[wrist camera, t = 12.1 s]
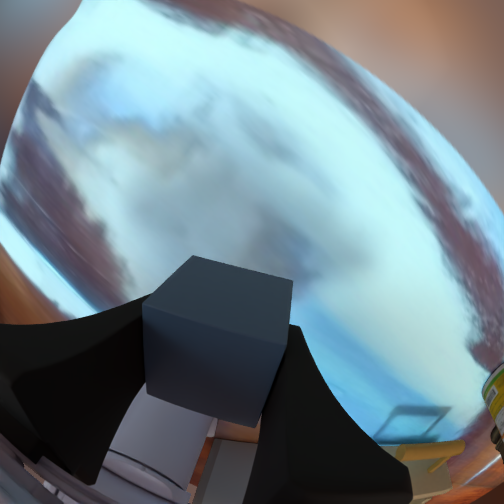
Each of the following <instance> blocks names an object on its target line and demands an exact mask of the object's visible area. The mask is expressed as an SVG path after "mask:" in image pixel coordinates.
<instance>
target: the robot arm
mask: <svg viewBox="0 0 504 504" xmlns="http://www.w3.org/2000/svg"><path fill="white" fill-rule="evenodd" d="M151 294H152V293H151ZM151 294H148V295H146V296H144V297H141V298H139V299H136V300H134V301H131V302H128V303H126V304H123V305H121V306H118V307H115V308H112V309H109V310H106V311H103V312H100V313H97V314H94V315H90V316H86V317H82V318H78V319H73V320H68V321H61V322H54V323H47V324H33V325H12V324H0V504H190V503H188V501H189V498H190V496H191V494H190V493H188V492H186V489H187V486H188V484H189V481H190V479H191V476H192V473H193V471H194V468H195V465H196V463H197V460H198V458H199V455H200V452H201V450H202V447H203V444H204V442H205V439H206V436H208V437H214V435H215V432H216V427H217V423H218V419H217V418H214V417H210V416H207V415H204V414H201V413H197V412H194V411H191V410H188V409H185V408H183V407H180V406H177V405H174V404H171V403H169V402H166V401H163V400H161V399H158V398H156V397H153V396H151V395H148V394H147V392H146V381H145V368H144V350H143V321H142V303H143V302H144V301H145V300H146V299H147V298H148V297H149V296H150V295H151ZM23 463H25V464H26V465H27V466H28V467H29V468H31V469H32V470H33V471H34V472H35V473H37V474H38V475H39V476H40V477H42V478H43V479H44V480H45V481H44V484H43V485H42V484H41V483H40V482H39V481H38V480H37V479H36V478H34V477H33V476H32V475H31V474H30V473H29V472H28V471H26V470H25V469H24V464H23ZM412 500H413V490H412V483H411V477H410V473H409V469H408V467H407V466H406V465H404V464H403V463H401V462H400V461H399V460H397V459H396V458H394V457H393V456H392V455H390V454H389V453H388V452H386V451H385V450H384V449H383V448H381V447H380V446H379V445H378V444H377V443H376V442H375V441H373V440H372V439H371V438H370V437H369V436H368V435H367V434H366V433H365V432H364V431H363V430H362V429H361V428H360V427H359V426H358V425H357V424H356V423H355V421H354V420H353V419H352V418H351V417H350V416H349V415H348V413H347V412H346V411H345V410H344V409H343V407H342V406H341V405H340V403H339V402H338V401H337V399H336V398H335V396H334V395H333V393H332V392H331V390H330V389H329V387H328V386H327V384H326V382H325V380H324V379H323V377H322V375H321V373H320V371H319V369H318V367H317V365H316V363H315V361H314V359H313V357H312V355H311V353H310V350H309V348H308V346H307V343H306V341H305V338H304V336H303V333H302V330H301V328H300V326H296V325H291V324H289V330H288V340H287V346H286V349H285V352H284V355H283V358H282V361H281V363H280V366H279V369H278V372H277V374H276V377H275V380H274V382H273V385H272V388H271V390H270V393H269V395H268V398H267V401H266V403H265V406H264V408H263V411H262V416H261V425H260V434H259V440H258V446H257V450H256V454H255V458H254V462H253V466H252V470H251V474H250V478H249V481H248V485H247V489H246V492H245V496H244V499H243V502H242V504H409V503H410V502H411V501H412Z"/></svg>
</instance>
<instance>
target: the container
mask: <svg viewBox="0 0 504 504" xmlns="http://www.w3.org/2000/svg"><path fill="white" fill-rule="evenodd" d="M491 441H492V442H493V443H494V444H496V447H495V449H496V450H498V451H499V452H500V454H501V456H502V459H503V464H504V442H503V439H502V437H501V435H500V433H499V430H498V428H497V426H496V427H495V428H494V430H493V431H492V434H491Z"/></svg>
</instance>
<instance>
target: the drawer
mask: <svg viewBox="0 0 504 504" xmlns="http://www.w3.org/2000/svg"><path fill="white" fill-rule="evenodd" d="M380 447H381V448H383V449H384V450H385V451H386V452H388V453H389V454H390V455H392V456H393V457H394V458H396V459H397V460H399V461H400V462H401V463H403V464H404V465H406V466H407V467H408V469H409V473H410V477H411V483H412V490H413V500H412V501H411V502H410V503H409V504H424V503H426V502H427V501H429V500H430V499H432V496H436V495H440V494H445V493H447V492H448V491H449V490H451V489H452V483H451V479H450V475H449V471H448V467H447V463H446V461H447V460H448V459H449V458H450V457H452V456H455V455H460V454H461V453H462V452H463V451H464V449H465V442H464V441H463V440H454V441H445V442H433V443H417V444H401V445H399V446H380Z"/></svg>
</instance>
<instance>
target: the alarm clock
mask: <svg viewBox="0 0 504 504" xmlns="http://www.w3.org/2000/svg"><path fill="white" fill-rule="evenodd" d="M257 446H258V444H255V443H245V442H237V441H229V440H222V439H214V442H213V444H212V447H211V450H210V453H209V456H208V459H207V462H206V464H205V467H204V470H203V473H202V476H201V478H200V481H199V484H198V487H197V490H196V493H195V496H194V499H193V503H192V504H242V502H243V499H244V496H245V492H246V489H247V485H248V481H249V478H250V474H251V470H252V466H253V462H254V458H255V454H256V450H257Z"/></svg>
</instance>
